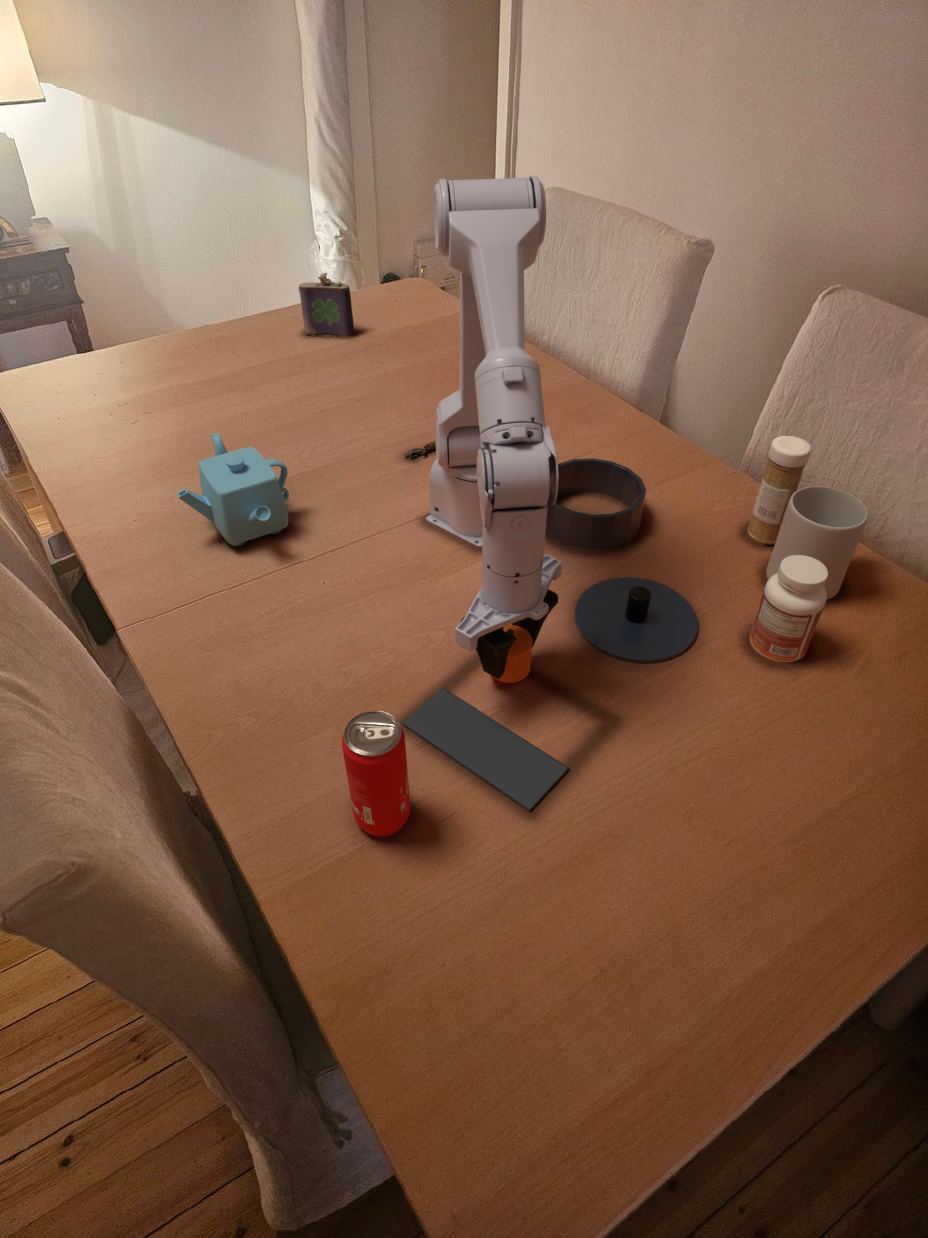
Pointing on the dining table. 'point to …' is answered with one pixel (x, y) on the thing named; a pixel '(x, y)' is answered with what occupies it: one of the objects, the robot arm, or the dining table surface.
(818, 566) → the pill bottle
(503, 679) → the pumpkin
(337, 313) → the flask
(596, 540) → the pot
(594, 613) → the pot lid
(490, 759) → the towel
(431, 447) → the can opener
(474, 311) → the robot arm
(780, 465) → the sprinkles bottle
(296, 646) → the dining table surface
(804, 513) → the mug
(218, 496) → the teapot
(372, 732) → the beverage can
